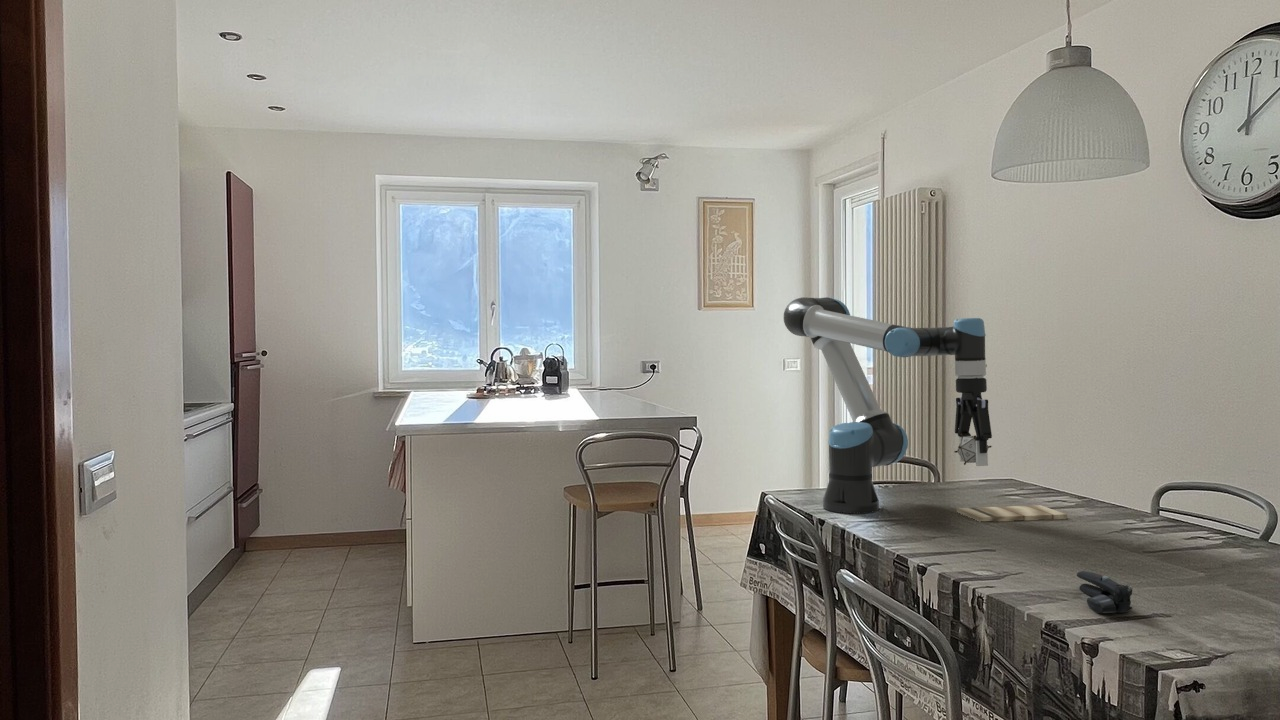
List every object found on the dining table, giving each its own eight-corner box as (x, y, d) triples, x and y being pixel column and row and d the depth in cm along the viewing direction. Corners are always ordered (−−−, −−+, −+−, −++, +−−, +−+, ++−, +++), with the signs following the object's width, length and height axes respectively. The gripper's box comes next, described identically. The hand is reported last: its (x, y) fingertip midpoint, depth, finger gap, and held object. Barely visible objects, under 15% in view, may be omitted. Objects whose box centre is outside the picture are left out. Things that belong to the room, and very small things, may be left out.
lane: (979, 522, 222) (979, 517, 222) (957, 512, 234) (957, 508, 234) (1067, 518, 225) (1067, 514, 225) (1040, 509, 237) (1040, 505, 237)
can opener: (1142, 620, 147) (1142, 587, 147) (1098, 619, 148) (1098, 586, 148) (1102, 589, 165) (1102, 560, 164) (1063, 588, 166) (1063, 559, 165)
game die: (965, 478, 227) (941, 447, 231) (988, 464, 230) (964, 434, 234) (981, 465, 219) (956, 433, 223) (1005, 451, 222) (980, 419, 226)
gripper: (1004, 377, 216) (1007, 468, 216) (966, 376, 238) (969, 458, 238) (975, 378, 215) (978, 469, 215) (939, 376, 237) (942, 459, 237)
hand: (973, 463), depth 227 cm, fingers closed on game die, 9 cm apart
